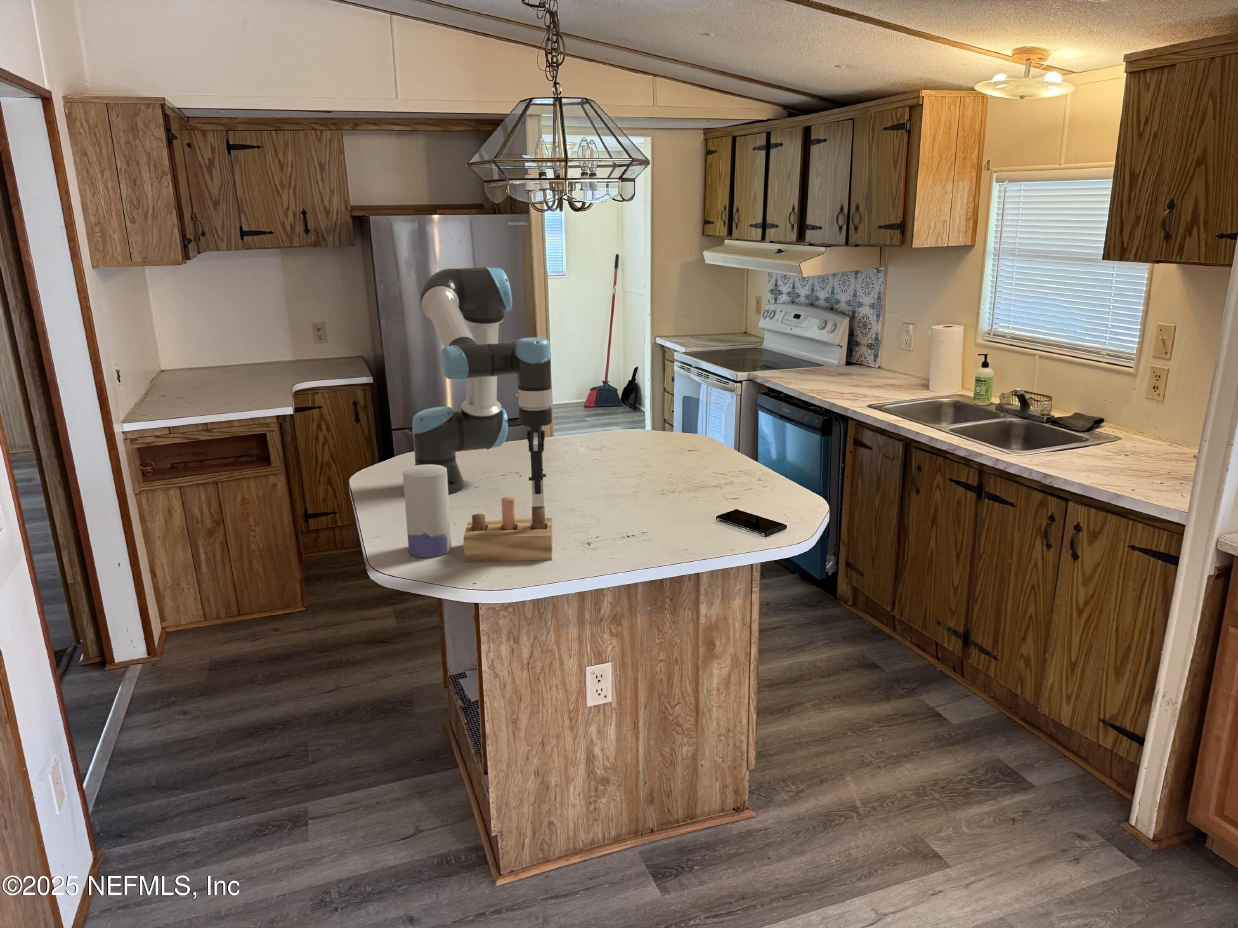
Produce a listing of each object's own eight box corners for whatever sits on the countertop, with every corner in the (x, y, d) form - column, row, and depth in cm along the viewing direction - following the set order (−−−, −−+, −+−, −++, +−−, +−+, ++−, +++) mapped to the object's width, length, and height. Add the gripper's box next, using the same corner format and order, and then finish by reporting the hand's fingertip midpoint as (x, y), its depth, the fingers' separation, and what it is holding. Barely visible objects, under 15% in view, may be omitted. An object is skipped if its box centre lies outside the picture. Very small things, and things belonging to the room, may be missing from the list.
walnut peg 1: (474, 545, 205) (472, 513, 203) (486, 545, 205) (485, 513, 203) (473, 550, 202) (471, 518, 200) (485, 549, 203) (484, 517, 200)
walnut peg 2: (533, 536, 206) (531, 504, 203) (545, 535, 206) (544, 504, 204) (532, 540, 203) (531, 508, 201) (545, 540, 203) (544, 508, 201)
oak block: (470, 542, 210) (468, 519, 208) (552, 540, 211) (551, 517, 209) (464, 561, 198) (463, 537, 197) (551, 559, 200) (551, 535, 198)
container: (454, 542, 210) (449, 463, 205) (448, 557, 201) (443, 475, 195) (413, 542, 210) (407, 464, 205) (404, 558, 200) (398, 476, 195)
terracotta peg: (503, 529, 205) (501, 497, 202) (515, 528, 205) (514, 496, 203) (502, 533, 202) (500, 501, 200) (515, 533, 202) (513, 500, 200)
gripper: (519, 401, 201) (523, 497, 208) (517, 413, 189) (521, 515, 195) (552, 400, 202) (554, 496, 208) (551, 412, 189) (554, 514, 196)
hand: (538, 505), depth 202 cm, fingers closed
